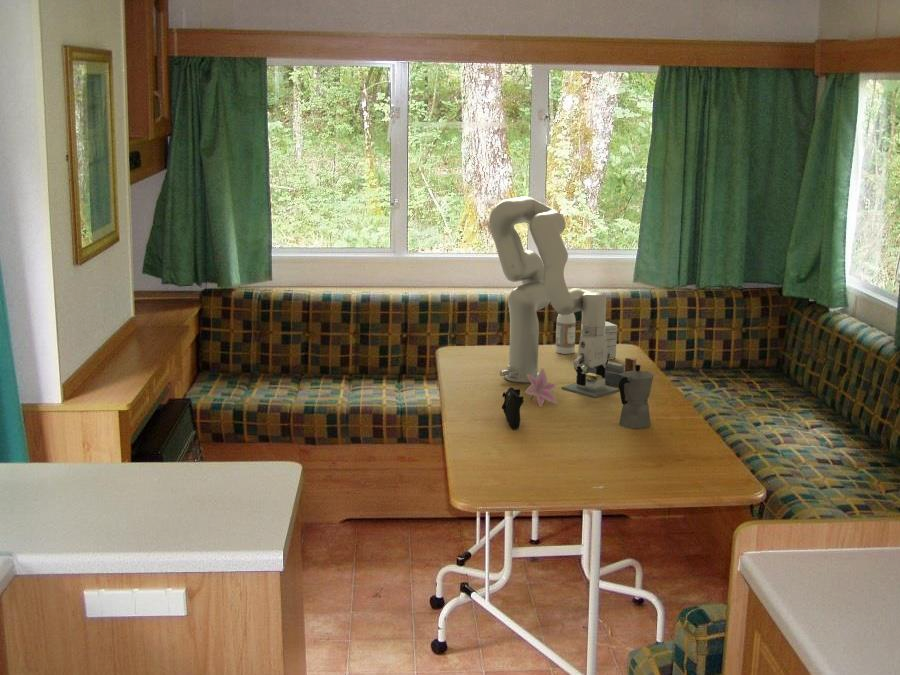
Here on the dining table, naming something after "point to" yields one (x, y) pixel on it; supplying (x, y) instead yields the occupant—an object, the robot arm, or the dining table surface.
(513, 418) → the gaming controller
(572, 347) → the bath foam
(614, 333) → the supplement box
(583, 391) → the mat
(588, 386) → the lever cap
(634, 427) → the coffeepot
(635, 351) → the dining table surface
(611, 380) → the plane body
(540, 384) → the lily
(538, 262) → the robot arm
